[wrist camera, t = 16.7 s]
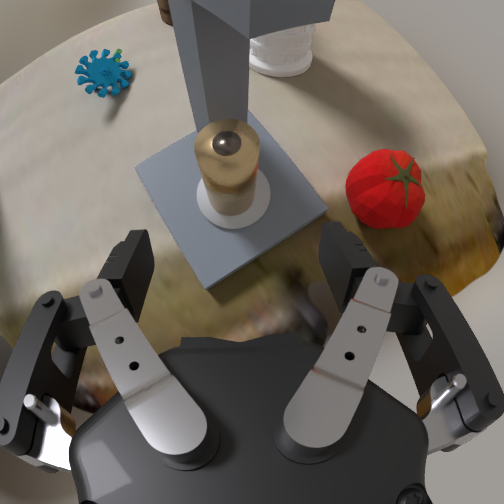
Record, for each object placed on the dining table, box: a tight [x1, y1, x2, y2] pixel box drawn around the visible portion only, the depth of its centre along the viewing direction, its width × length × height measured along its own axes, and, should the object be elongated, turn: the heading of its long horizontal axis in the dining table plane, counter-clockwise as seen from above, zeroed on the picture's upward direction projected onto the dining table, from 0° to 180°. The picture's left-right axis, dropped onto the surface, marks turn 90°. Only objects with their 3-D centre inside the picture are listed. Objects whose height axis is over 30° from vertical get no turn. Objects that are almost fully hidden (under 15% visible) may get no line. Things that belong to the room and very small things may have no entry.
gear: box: [75, 49, 132, 98], centre depth 34 cm, size 11×6×10 cm
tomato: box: [346, 149, 425, 229], centre depth 29 cm, size 9×10×8 cm
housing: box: [194, 119, 260, 216], centre depth 25 cm, size 5×5×10 cm
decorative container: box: [249, 23, 316, 77], centre depth 29 cm, size 12×12×18 cm
